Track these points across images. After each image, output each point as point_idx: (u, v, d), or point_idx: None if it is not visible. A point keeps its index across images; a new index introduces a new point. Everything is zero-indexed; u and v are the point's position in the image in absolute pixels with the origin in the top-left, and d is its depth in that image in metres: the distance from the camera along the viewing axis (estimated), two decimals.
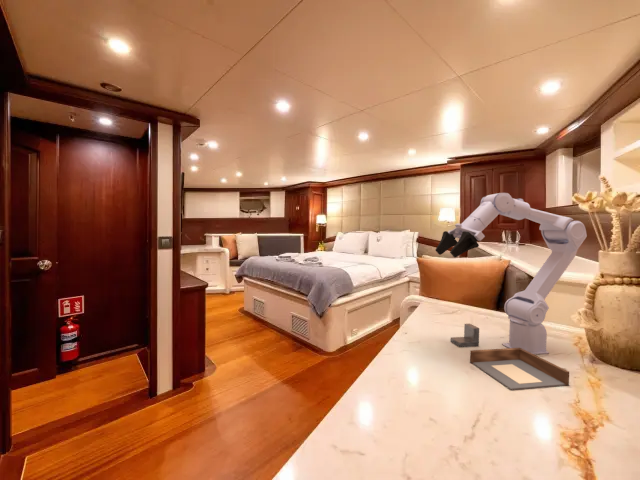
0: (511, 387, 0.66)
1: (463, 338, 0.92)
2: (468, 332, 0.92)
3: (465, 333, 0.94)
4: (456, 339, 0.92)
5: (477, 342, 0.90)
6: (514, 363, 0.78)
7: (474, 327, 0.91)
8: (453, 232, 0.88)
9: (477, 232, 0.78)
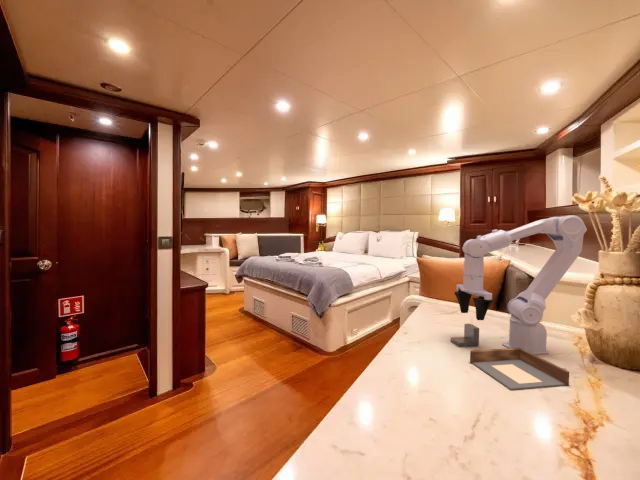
0: (511, 387, 0.66)
1: (463, 338, 0.92)
2: (468, 332, 0.92)
3: (465, 333, 0.94)
4: (456, 339, 0.92)
5: (477, 342, 0.90)
6: (514, 363, 0.78)
7: (474, 327, 0.91)
8: (461, 288, 0.96)
9: (484, 295, 0.85)
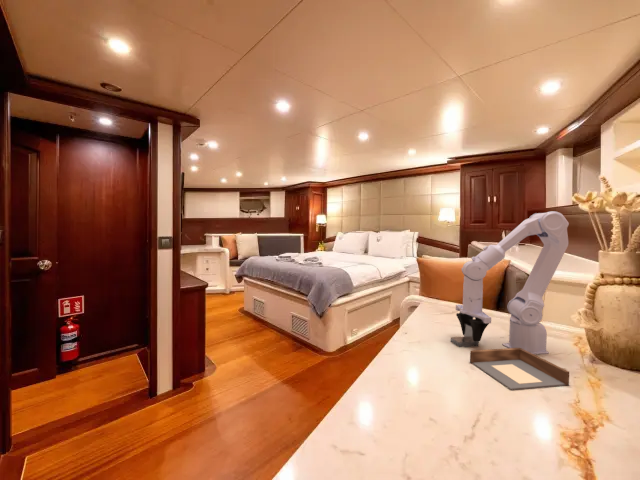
0: (511, 387, 0.66)
1: (463, 338, 0.92)
2: (468, 332, 0.92)
3: (465, 333, 0.94)
4: (456, 339, 0.92)
5: (477, 342, 0.90)
6: (514, 363, 0.78)
7: None
8: None
9: (483, 318, 0.85)
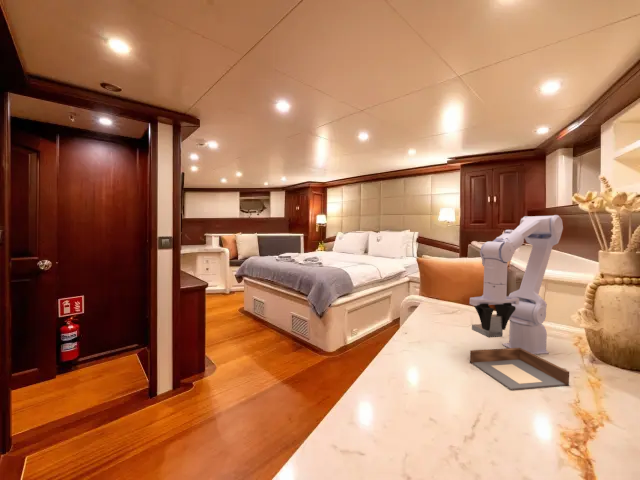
0: (511, 387, 0.66)
1: None
2: None
3: None
4: (481, 325, 0.86)
5: (487, 332, 0.80)
6: (514, 363, 0.78)
7: None
8: None
9: None
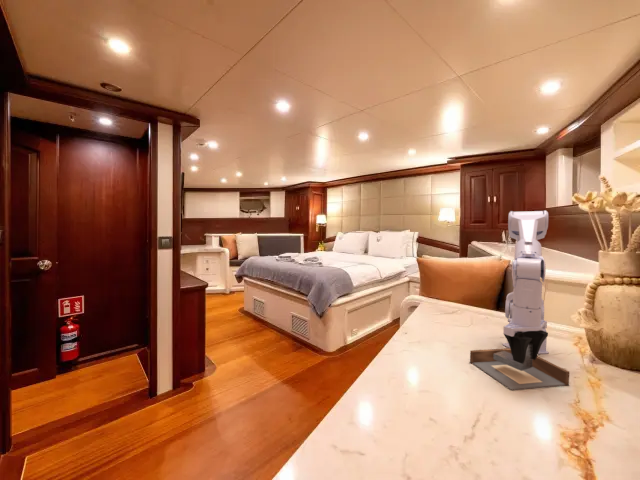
0: (511, 387, 0.66)
1: None
2: None
3: None
4: (503, 353, 0.75)
5: (519, 365, 0.68)
6: None
7: None
8: None
9: None
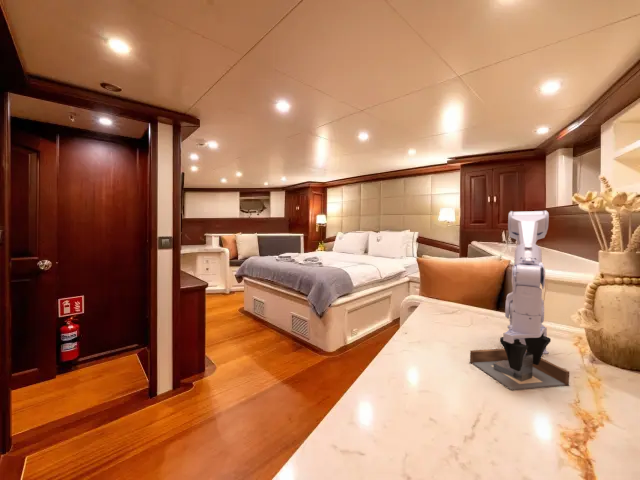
0: (511, 387, 0.66)
1: None
2: None
3: None
4: (503, 362, 0.75)
5: (519, 375, 0.68)
6: None
7: None
8: None
9: None
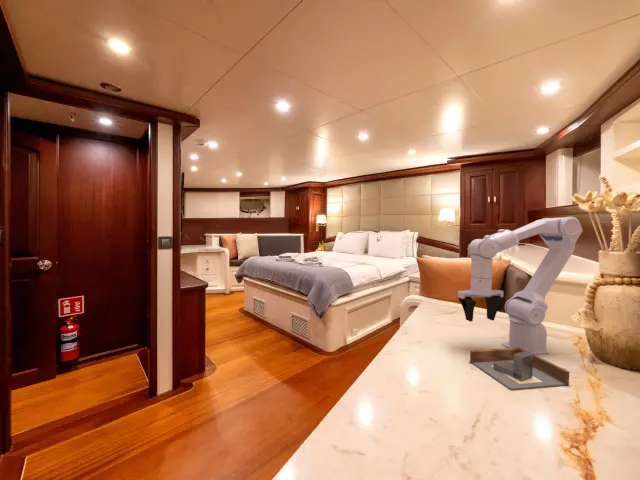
0: (511, 387, 0.66)
1: None
2: None
3: None
4: (503, 362, 0.75)
5: (519, 375, 0.68)
6: None
7: (519, 355, 0.69)
8: None
9: None
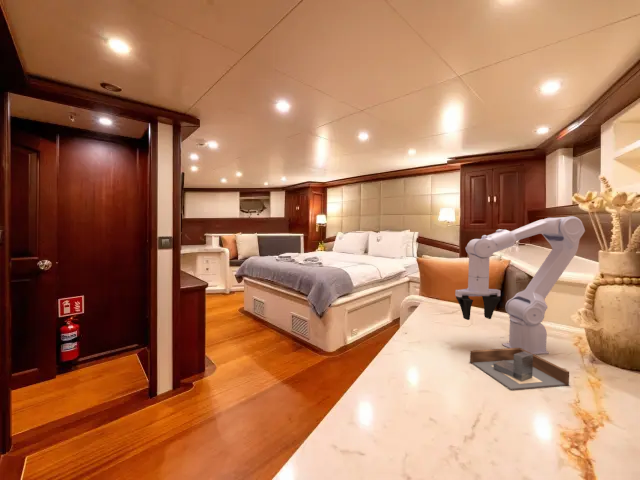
0: (511, 387, 0.66)
1: None
2: None
3: None
4: (503, 362, 0.75)
5: (519, 375, 0.68)
6: None
7: (519, 355, 0.69)
8: None
9: None
